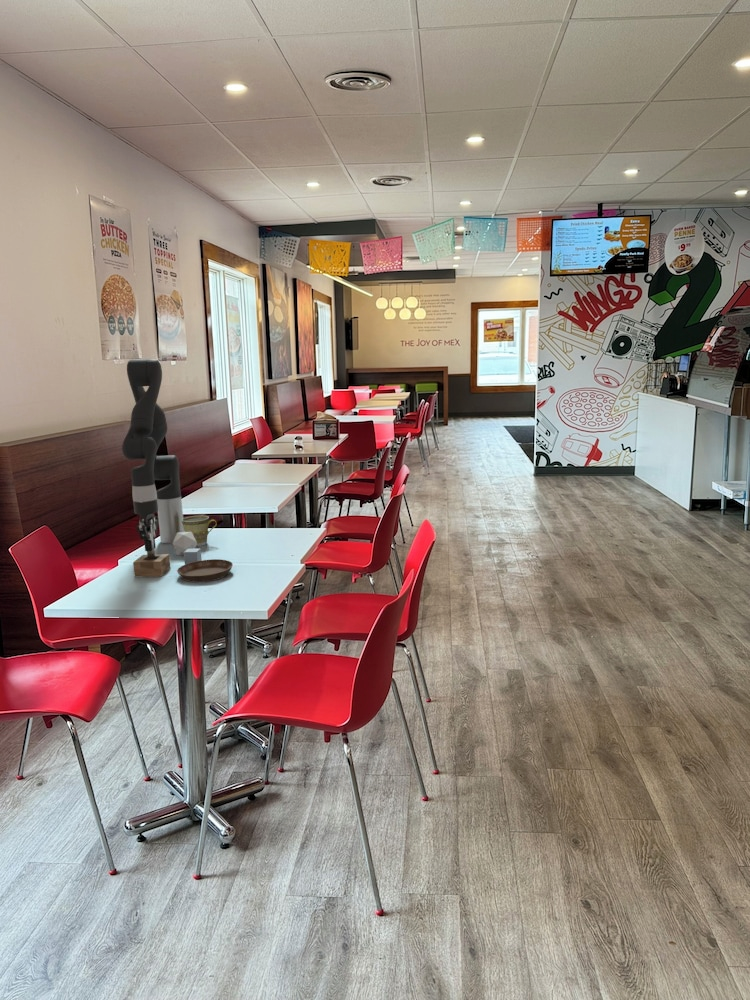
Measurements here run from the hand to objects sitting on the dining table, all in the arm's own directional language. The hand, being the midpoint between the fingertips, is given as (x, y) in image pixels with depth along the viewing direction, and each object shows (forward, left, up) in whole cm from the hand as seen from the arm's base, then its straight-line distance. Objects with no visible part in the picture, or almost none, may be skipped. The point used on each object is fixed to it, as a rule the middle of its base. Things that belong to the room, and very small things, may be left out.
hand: (150, 549), depth 247 cm
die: (-23, +4, -8) cm, 25 cm away
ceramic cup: (-36, +6, -8) cm, 37 cm away
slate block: (-9, +11, -8) cm, 16 cm away
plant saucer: (+4, +19, -8) cm, 21 cm away
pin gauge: (0, 0, -4) cm, 4 cm away
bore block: (0, 0, -8) cm, 8 cm away
